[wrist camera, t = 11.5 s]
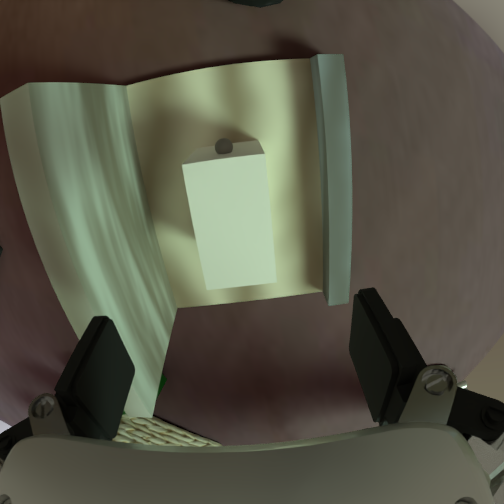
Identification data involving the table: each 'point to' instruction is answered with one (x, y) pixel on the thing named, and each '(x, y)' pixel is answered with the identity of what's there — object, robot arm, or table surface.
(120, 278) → the curved railed panel
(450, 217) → the table surface
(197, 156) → the mini cabinet
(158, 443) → the storage basket
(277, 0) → the portable speaker
